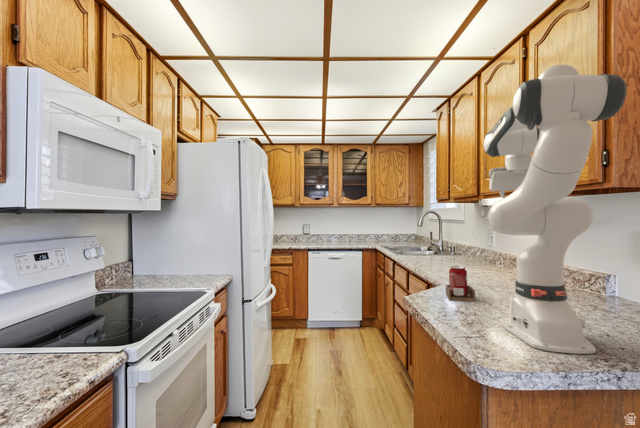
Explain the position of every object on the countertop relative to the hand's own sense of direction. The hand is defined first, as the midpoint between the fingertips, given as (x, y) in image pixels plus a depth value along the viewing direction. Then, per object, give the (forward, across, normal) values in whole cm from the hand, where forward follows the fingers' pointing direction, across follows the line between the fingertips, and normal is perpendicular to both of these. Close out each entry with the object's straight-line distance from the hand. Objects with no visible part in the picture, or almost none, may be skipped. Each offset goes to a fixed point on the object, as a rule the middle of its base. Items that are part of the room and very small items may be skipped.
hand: (519, 202), depth 121 cm
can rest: (+39, -21, +4) cm, 45 cm away
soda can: (+38, -22, +4) cm, 44 cm away
